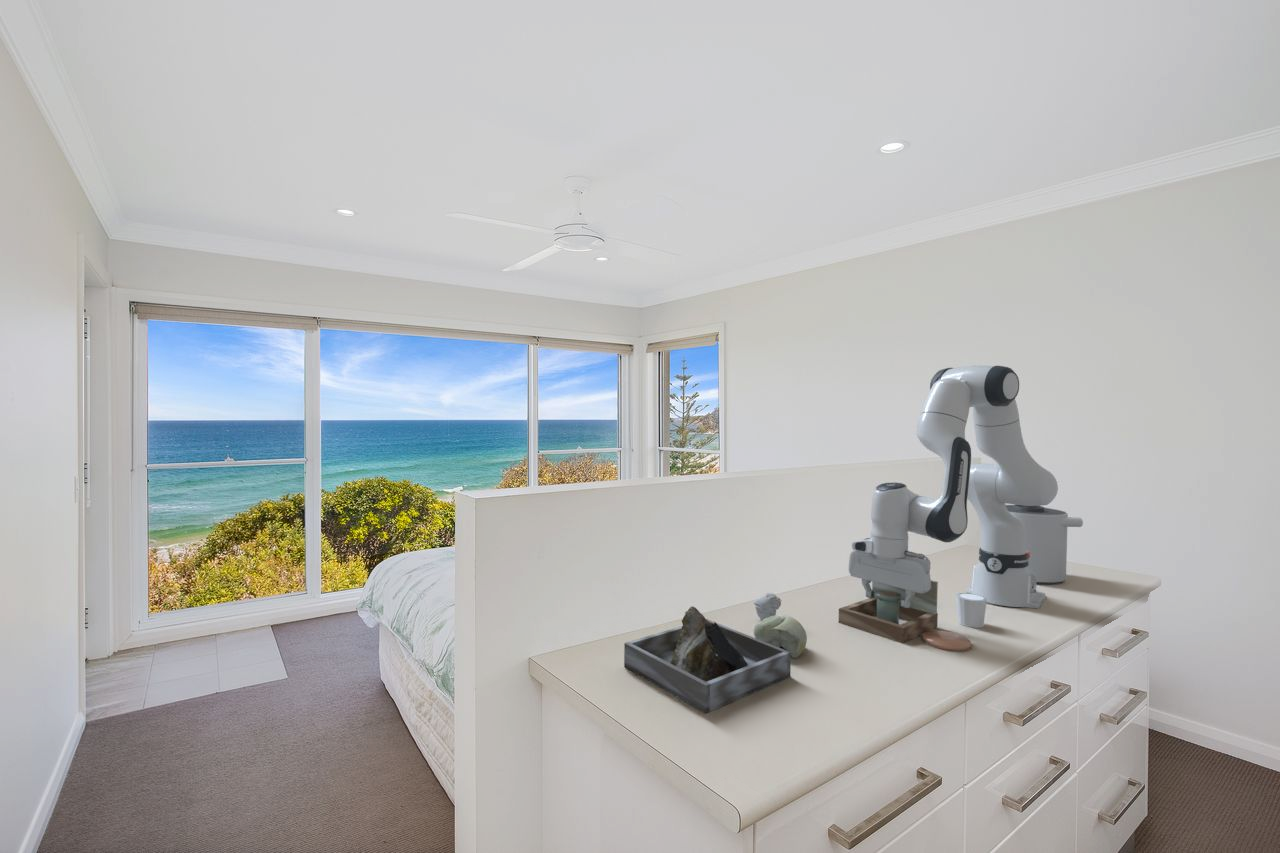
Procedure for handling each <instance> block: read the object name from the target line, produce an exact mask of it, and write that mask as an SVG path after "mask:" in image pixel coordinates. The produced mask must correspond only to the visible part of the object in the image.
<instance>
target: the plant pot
mask: <svg viewBox="0 0 1280 853" xmlns="http://www.w3.org/2000/svg"><path fill="white" fill-rule="evenodd" d="M875 596H876V597H877V612H876V618H879V619H883V620H886V621H889V622H893V623H896V624H900V623H899V622H900V618H899V600H901V594H900V593H898V592H895V591H890V590H877V591H876V592H875Z"/></svg>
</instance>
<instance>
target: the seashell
mask: <svg viewBox="0 0 1280 853" xmlns="http://www.w3.org/2000/svg"><path fill="white" fill-rule="evenodd" d="M753 636H754V638H756V639H759V640H761V641H764V642H766V643H769V644H771V645H774V646H776V647H779V648H781V647H782V649H784V650H786V651H789V652H791V659H792V658H793V659H797V658H798V657H800V655H801V654H802V652H804V650H805V648H806V647H807V641H808V637H807V636H808V635H807V632H806V630H805V628H804V626H803V625H802V624H801V623H800V621H798V620H797V619H796V618H794V617H793V616H789V615H775V616H770V617H767V618H765V619H763V620H762V619H761V621H758V622H756V624H755V625H754V627H753Z"/></svg>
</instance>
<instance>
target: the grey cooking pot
mask: <svg viewBox="0 0 1280 853" xmlns="http://www.w3.org/2000/svg"><path fill="white" fill-rule="evenodd" d="M1006 508H1007V510H1008V511H1009V513H1010V514H1011V515H1012V516H1014V517H1016V518H1017V519H1019V520H1020V521H1021V522H1022V523H1023V524H1024V526H1025V528H1026V552H1030V557H1029V559H1028V564H1029V565H1028V568H1029V569H1030V570H1031V571H1032V573H1033V574H1034V575H1035V576H1036V585H1061V584H1063V583H1065V582H1066V580H1067V554H1068V552H1067V551H1068V550H1067V549H1068V528H1081V527H1083V524H1084V521H1083V518H1082V517H1078V516H1077V517H1076V516H1073V517H1072V516H1068V515H1069V513H1068V512H1067V511H1065V510H1062V509H1058V508H1053V507H1044V506H1043V505H1041V506H1023V505H1015V504H1006Z"/></svg>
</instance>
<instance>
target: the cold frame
mask: <svg viewBox="0 0 1280 853" xmlns="http://www.w3.org/2000/svg"><path fill="white" fill-rule="evenodd" d="M871 583H872V586H871V589H872V590H874V598H869V597H867V598H866V599H863V600H859V601H857V602H854V603H851V604H848V605H845V606H843V607H840V608H838V623H840V624H843V625H845V626H850V627H852V628H855V629H859V630H862V631H865V632H867V633H871V634H874V635H876V636H880V637H883V638H887V639H889V640H893V641H895V642H899V643H902V644H904V643H906V642H909V641H910V640H913V639H915V638H918V637H919V636H921V635H922V636H923V633H924V632H926V631H932V630H934V629H937V628H938V618H939V616H938V615H939V613H938V590H939V589H938V587H939V586H938V585H939V584H938V583H939V582H938V581H937V580H931V589H930V590H929V591H928V592H926V593H922V594H921V593H917V592H915V595H914V596H913V598H912V599H911V600H910V607H909V608H905V607H901V604H902V603H901V600H902V599H905V598H906V597H907V595H908V594H906V590H905V589H901V588H897V587H893V586H889V585H885V584H881V583H877V582H873V581H871ZM877 590H890V591H895V592H898V593H900V594H901V600H899V620H900V619H901V620H903V621H906V622H904V623H901V624H900V623H899V624H896V623H893V622H889V621H886V620H883V619H879V618H877V616H873V615H872V614H874V613H877V597H876V596H875V592H876V591H877ZM936 627H937V628H936Z"/></svg>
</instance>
